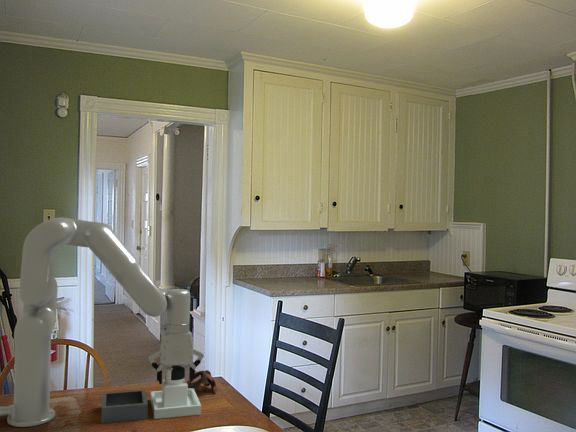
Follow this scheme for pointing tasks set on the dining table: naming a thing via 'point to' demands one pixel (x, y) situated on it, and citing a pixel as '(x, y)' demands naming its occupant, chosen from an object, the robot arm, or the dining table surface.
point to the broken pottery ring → (203, 381)
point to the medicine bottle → (174, 387)
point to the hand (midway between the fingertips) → (175, 381)
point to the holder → (124, 406)
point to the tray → (168, 412)
